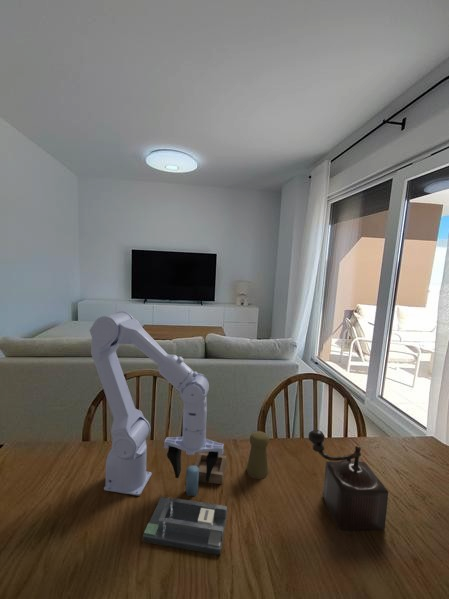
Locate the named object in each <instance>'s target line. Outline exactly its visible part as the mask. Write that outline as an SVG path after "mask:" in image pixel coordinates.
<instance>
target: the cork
mask: <svg viewBox="0 0 449 599" xmlns="http://www.w3.org/2000/svg"><path fill="white" fill-rule="evenodd" d="M269 441H270V439H269V436H268V434H267V433H265V432H264V431H262V430H261V431H260V430H257V431H254V432H252V433H251V434H250V436H249V443H250V445H251V446H250V450H249V455H248V461H247V464H246V473H247V474H248V475H249V476H250V477H251V478H253V479H259V480H261V479H264V478H266V477H267V476H269V466H268V453H267V451H268V450H267V447H268V445H269V443H270V442H269Z"/></svg>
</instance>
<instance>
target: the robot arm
mask: <svg viewBox="0 0 449 599" xmlns="http://www.w3.org/2000/svg"><path fill="white" fill-rule="evenodd" d="M89 333H90V336H91V343H90V344H91V346H90V353H91V354H90V355H91V357H92V361H93V362H94V366H95V369H96V371H97V372H96V373H97V375H98V377H99V380H100V382H101V386H102V389H103V392H104V395H105V398H106V400H107V404H108V406H109V409H110V411H111V415H112V417H113V422H112V425H111V429H110V435H111V441H112V442H111V449H109V451H108V454H107V456H106V461H105V486H104V487H103V491H105V492H106V491H107V492H113V493H120V494H125V495H132V496H141V495H142V492H143V491H144V489H145V487H146V486H147V483H148V482H149V480H150V478H151V476H152V474H153V473H152V472H151V471H147V449H148V448H147V438H148V436H149V435H150V434H151V430H152V429H151V424H150V422H149V421H148V419H146V418H145V416H144V414H143V412H142V411H141V410H140V409H137V408H136V407H135V403H134V401H133V398H132V395H131V392H130V390H129V387H128V383H127V380H126V378H125V375H124V371H123V368H122V366H121V363H120V359H119V358H118V354H117V351H118V349H119V347H120V345H133V346H135V348H137V349H138V350H139V351H140V352H142V353H143V354H144V355H145V356H147V357H148V358H149V359H150V360H152V361H153V362H154V363H155V364H156V365H158V366H157V367H158V374H160V376H162V377H163V378H164V379H165V380H166V381H167V382H168V383H170V385H172V386H173V387H174V388H175V389H176V390H177V391H179V392H180V393H179V395H180V399H181V401H182V402H183V408H182V436H174V437H173V436H171V437H169V436H166V438H165V440H164V444H163V446H164V449H165V450H166V449H167V453H166V457H167V459H168V460H169V462H170V464H171V466H172V468H173V471H174V477H175V478H176V479H179V478H180V475H181V471H182V466H181V465H182V463H181V462H182V460H181V459H182V458H181V457H182V451H183V452H185V454H186V455H187V456H195V454H199V453H208V455H207V459H206V465H207V473H206V482H205V483H209V480H210V474H211V471H212V469H213V467H214V465H215V463H216V461H217V458H218V455H220V456H222V455H223V454H224V443H221V442H217V441H213V440H212V439H208V438H207V437H206V436H207V414H208V412H207V410H208V407H207V406H208V405H207V400H208V398H207V397H208V396H207V394H208V393H209V389H210V383H209V379H208V378H207V376H205V374H203V373H200V372H199V373H198V371H196V370H193V369H192V368H191V367H190V366H189V365H187V364H186V363H185V362H184V361H185V359H184V358H183V357H182V356H177V355H176V354H169V353H167V352H166V351H165V349H163V347H162V346H160V344H158V342H157V341H156V340H155V339H154V338H153V337H152V336H151V335H150V334H149V333H148V332H147V331H146V330H145V328H143V327H142V324H141V323H140V322H139V320H137V319H136V318H134V317H133V316H132V314H131V313H130V312H127V311H124V310H121V311H118V312H116V313H112V314H108V315H104V316H100V317H98V318H97V319H95V320H94V322H93V323H92V326H91V327H90V329H89ZM223 456H224V455H223Z"/></svg>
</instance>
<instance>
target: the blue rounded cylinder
mask: <svg viewBox="0 0 449 599" xmlns="http://www.w3.org/2000/svg"><path fill="white" fill-rule="evenodd" d="M194 465H195V464H193V465H189V466H188V467H187V468H186V480H185V483H186V484H185V485H186V486H185V494H186V495H187V496H189V497H196V496H197V495H198V492H199V481H198V479H199V468H198V467H197V466H194Z"/></svg>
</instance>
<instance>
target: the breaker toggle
mask: <svg viewBox="0 0 449 599" xmlns="http://www.w3.org/2000/svg"><path fill="white" fill-rule="evenodd" d="M214 511H215V510H212V509H206V508H201V510H200V514H199V518H198V523H202V524H208V525H213V521H214Z"/></svg>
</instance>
